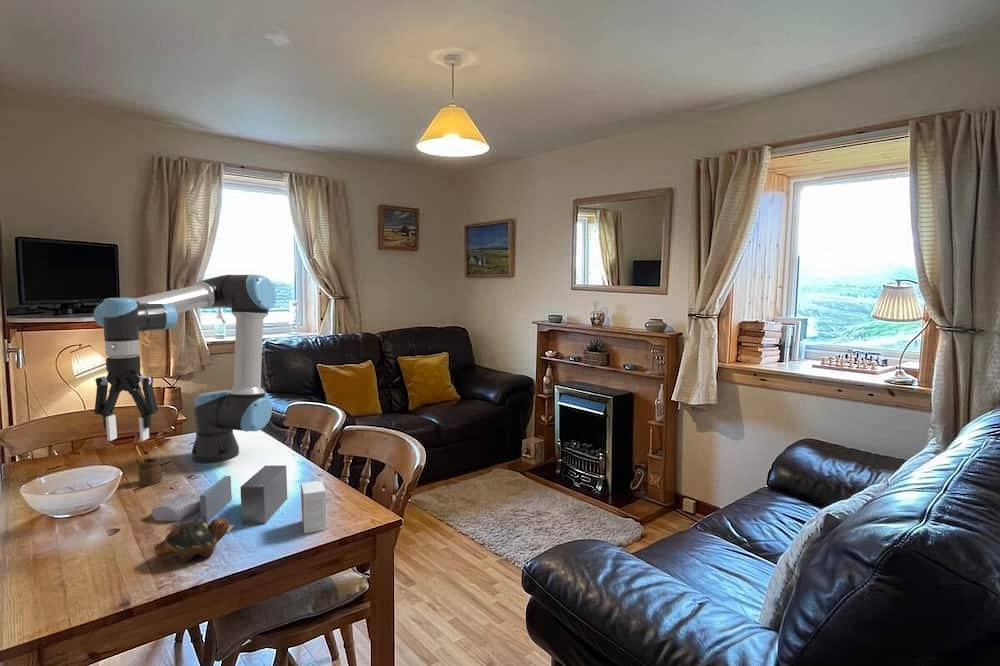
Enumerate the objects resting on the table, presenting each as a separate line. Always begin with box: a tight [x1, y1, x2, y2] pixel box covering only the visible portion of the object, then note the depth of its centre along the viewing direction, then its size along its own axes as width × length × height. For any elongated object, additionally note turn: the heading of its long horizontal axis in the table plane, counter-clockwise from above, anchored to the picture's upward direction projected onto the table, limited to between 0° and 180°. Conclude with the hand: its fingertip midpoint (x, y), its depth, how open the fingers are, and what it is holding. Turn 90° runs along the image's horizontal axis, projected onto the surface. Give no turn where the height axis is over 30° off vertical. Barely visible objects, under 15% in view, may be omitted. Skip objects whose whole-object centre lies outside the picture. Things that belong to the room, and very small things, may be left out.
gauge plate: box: [198, 475, 233, 522], centre depth 148 cm, size 19×2×7 cm, turn 1°
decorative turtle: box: [154, 517, 230, 563], centre depth 126 cm, size 10×15×8 cm, turn 123°
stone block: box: [151, 492, 202, 522], centre depth 150 cm, size 12×5×10 cm
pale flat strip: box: [226, 524, 235, 533], centre depth 140 cm, size 3×10×1 cm, turn 91°
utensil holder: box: [135, 445, 163, 486], centre depth 170 cm, size 6×6×12 cm
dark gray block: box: [240, 465, 288, 525], centre depth 150 cm, size 16×6×10 cm, turn 1°
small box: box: [300, 480, 328, 535], centre depth 142 cm, size 8×6×10 cm
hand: (128, 439), depth 148 cm, fingers open, 8 cm apart
